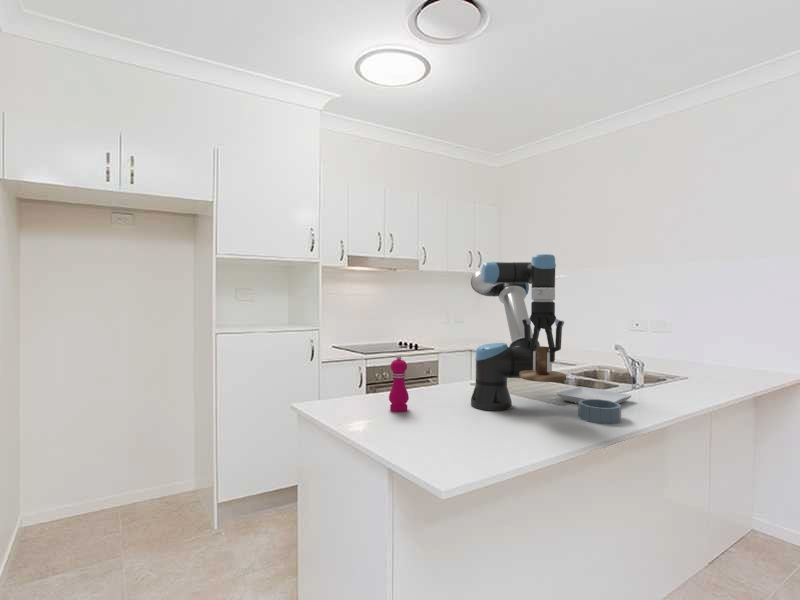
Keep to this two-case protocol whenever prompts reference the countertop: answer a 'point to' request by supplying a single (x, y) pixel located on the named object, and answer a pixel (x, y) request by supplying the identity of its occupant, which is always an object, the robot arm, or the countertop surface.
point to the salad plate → (592, 395)
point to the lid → (542, 369)
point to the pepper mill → (398, 386)
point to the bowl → (599, 411)
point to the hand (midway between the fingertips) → (542, 370)
